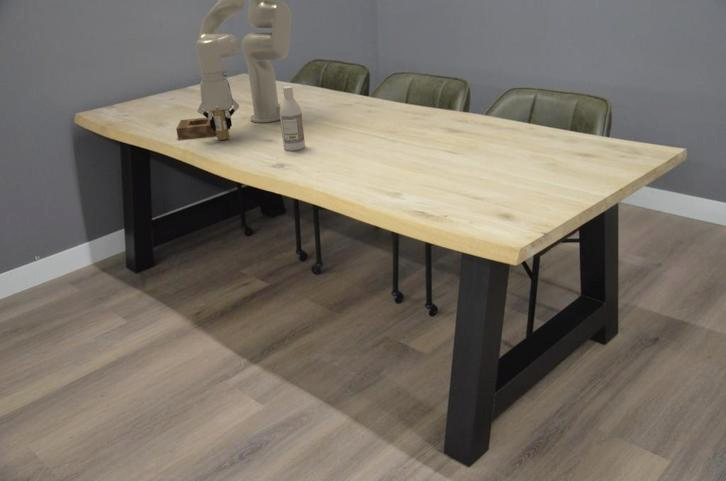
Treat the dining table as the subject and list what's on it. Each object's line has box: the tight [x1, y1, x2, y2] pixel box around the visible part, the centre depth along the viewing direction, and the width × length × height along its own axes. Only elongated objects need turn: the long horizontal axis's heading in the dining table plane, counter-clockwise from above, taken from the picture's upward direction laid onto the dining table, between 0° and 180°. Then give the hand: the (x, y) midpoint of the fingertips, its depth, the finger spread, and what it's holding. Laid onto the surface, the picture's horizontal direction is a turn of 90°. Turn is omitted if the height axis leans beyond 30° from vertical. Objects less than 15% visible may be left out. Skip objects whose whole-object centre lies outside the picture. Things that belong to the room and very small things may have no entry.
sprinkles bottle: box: [213, 105, 231, 141], centre depth 248 cm, size 5×5×14 cm
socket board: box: [175, 117, 217, 141], centre depth 260 cm, size 14×12×4 cm
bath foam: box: [279, 85, 306, 152], centre depth 231 cm, size 7×7×20 cm
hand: (221, 128), depth 249 cm, fingers closed on sprinkles bottle, 4 cm apart
